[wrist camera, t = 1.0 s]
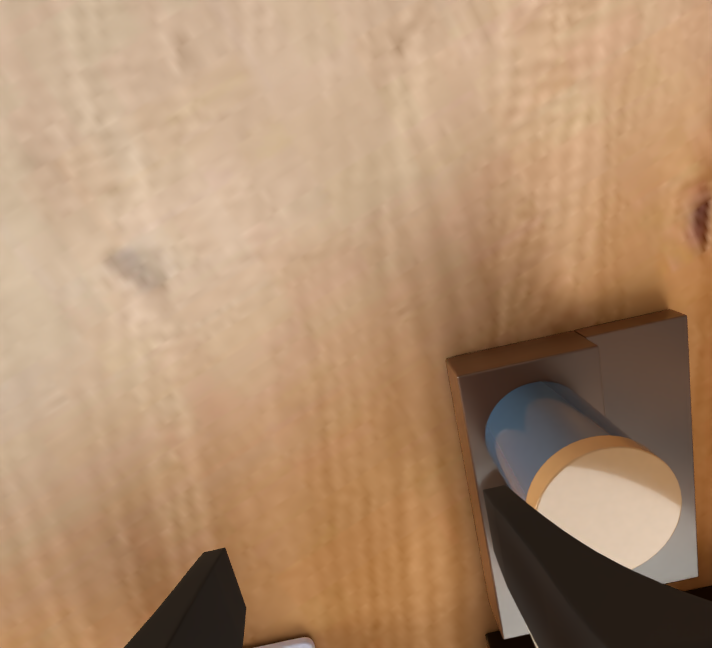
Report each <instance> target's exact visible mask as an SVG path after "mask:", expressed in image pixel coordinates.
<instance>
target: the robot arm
mask: <svg viewBox="0 0 712 648" xmlns="http://www.w3.org/2000/svg"><path fill="white" fill-rule="evenodd" d="M483 494H484V500H485V505H486V511H487V516H488V522H489V527H490V533H491V538H492V543H493V549H494V553H495V556H496V559H497V561H498V564H499V567H500V569H501V572H502V575H503V577H504V580H505V582H506V585H507V587H508V590H509V592H510V594H511V596H512V598H513V600H514V601H515V603H516V605H517V607H518V609H519V611H520V613H521V615H522V617H523V619H524V621H525V623H526V625H527V627H528V629H529V631H530V633H531V635H532V637H533V638H534V640H535V642H536V644H537V646H538V648H712V601H709V600H706V599H703V598H700V597H697V596H695V595H692V594H689V593H686V592H683V591H680V590H678V589H675V588H673V587H670V586H668V585H665V584H662V583H660V582H658V581H655V580H653V579H651V578H649V577H646V576H644V575H642V574H640V573H637V572H635V571H633V570H631V569H629V568H627V567H625V566H623V565H621V564H619V563H617V562H615V561H613V560H611V559H609V558H608V557H606V556H604V555H602V554H600V553H598V552H596V551H595V550H593V549H591V548H590V547H588V546H587V545H585V544H583V543H582V542H580V541H579V540H577V539H576V538H574V537H573V536H571V535H570V534H568V533H567V532H565V531H564V530H562V529H561V528H560V527H558V526H557V525H555V524H554V523H553V522H551V521H550V520H549V519H547V518H546V517H545V516H543V515H542V514H541V513H539V512H538V511H537V510H535V509H534V508H533V507H532V506H530V505H529V504H528V503H527V502H525V501H524V500H523V499H522V498H521V497H519V496H518V495H517V494H516V493H515V492H514V491H512V490H511V489H510V488H509V487H507V486H506V485H502V486H497V487H493V488H488V489H484V490H483ZM245 615H246V606H245V603H244V600H243V597H242V594H241V592H240V589H239V586H238V583H237V580H236V577H235V574H234V571H233V569H232V566H231V563H230V560H229V557H228V554H227V551H226V549H225V548H222V549H217V550H213V551H208V552H204V553H203V554H202V555H201V556H200V557H199V558H198V560H197V561H196V562H195V563H194V565H193V566H192V567H191V568H190V570H189V571H188V572H187V573H186V575H185V576H184V577H183V578H182V580H181V581H180V582H179V583H178V585H177V586H176V587H175V588H174V590H173V591H172V592H171V593H170V595H169V596H168V597H167V598H166V599H165V601H164V602H163V603H162V604H161V606H160V607H159V608H158V609H157V610H156V612H155V613H154V614H153V615H152V616H151V617H150V619H149V620H148V621H147V622H146V623H145V624H144V625H143V627H142V628H141V629H140V630H139V631H138V632H137V633H136V634H135V636H134V637H133V638H132V639H131V640H130V641H129V642H128V644H127V645H126V646H125V647H124V648H242V647H243V637H244V627H245ZM254 648H315V645H314V642H313V640H312V639H310V638H308V637H302V638H297V639H292V640H287V641H283V642H278V643H273V644H268V645H264V646H259V647H254Z"/></svg>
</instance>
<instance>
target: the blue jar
mask: <svg viewBox="0 0 712 648" xmlns="http://www.w3.org/2000/svg"><path fill="white" fill-rule="evenodd" d="M485 442H486V447H487V450H488V453H489V455H490V457H491V459H492V460H493V462H494V464H495V465H496V467H497V469H498V471H499V472H500V474H501V476H502V477H503V479H504V481H505V482H506V484H507V486H508V487H509V488H510V489H511V490H512V491H514V492H515V493H516V494H517V495H518V496H519V497H521V498H522V499H523V500H524V501H525V502H527V503H528V504H529V505H530V506H532V507H533V508H534V509H535V510H537V511H538V512H539V513H541V514H542V515H543V516H545V517H546V518H547V519H549V520H550V521H551V522H553V523H554V524H555V525H557V526H558V527H560V528H561V529H562V530H564V531H565V532H567V533H568V534H570V535H571V536H573V537H574V538H576V539H577V540H579V541H580V542H582V543H583V544H585V545H587V546H588V547H590V548H591V549H593V550H595V551H596V552H598V553H600V554H602V555H604V556H606V557H608V558H609V559H611V560H613V561H615V562H617V563H619V564H621V565H623V566H625V567H627V568H629V569H631V570H632V569H634V568H636V567H638V566H640V565H642V564H643V563H645V562H646V561H648V560H649V559H651V558H652V557H653V556H654V555H656V554H657V553H658V552H659V551H660V550H661V549H662V548H663V547H664V546H665V544H666V543H667V542H668V541H669V539H670V538H671V536H672V534H673V533H674V531H675V529H676V526H677V524H678V521H679V518H680V514H681V508H682V496H681V489H680V486H679V483H678V480H677V478H676V476H675V474H674V473H673V471H672V470H671V468H670V467H669V466H668V465H667V464H666V463H665V462H664V461H663V460H662V459H660V458H659V457H658V456H657V455H656V454H654V453H653V452H652V451H651V450H649V449H648V448H647V447H645V446H644V445H642V444H640V443H639V442H637V441H634V440H633V439H631V438H630V437H629V436H628V435H627V434H625V433H624V432H623V431H622V430H621V429H619V428H618V427H617V426H616V425H615V424H614V423H612V422H611V421H610V420H609V419H608V418H606V417H605V416H604V415H603V414H602V413H600V412H599V411H598V410H597V409H596V408H594V407H593V406H592V405H591V404H590V403H588V402H587V401H586V400H585V399H584V398H582V397H581V396H580V395H579V394H578V393H576V392H575V391H574V390H572V389H571V388H569V387H567V386H565V385H562V384H559V383H555V382H547V381H543V382H533V383H529V384H525V385H522V386H520V387H518V388H516V389H514V390H512V391H511V392H509V393H508V394H507V395H505V396H504V397H503V398H502V399H501V400H500V401H499V402H498V403H497V404H496V406H495V407H494V409H493V410H492V412H491V414H490V416H489V418H488V421H487V425H486V430H485Z"/></svg>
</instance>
